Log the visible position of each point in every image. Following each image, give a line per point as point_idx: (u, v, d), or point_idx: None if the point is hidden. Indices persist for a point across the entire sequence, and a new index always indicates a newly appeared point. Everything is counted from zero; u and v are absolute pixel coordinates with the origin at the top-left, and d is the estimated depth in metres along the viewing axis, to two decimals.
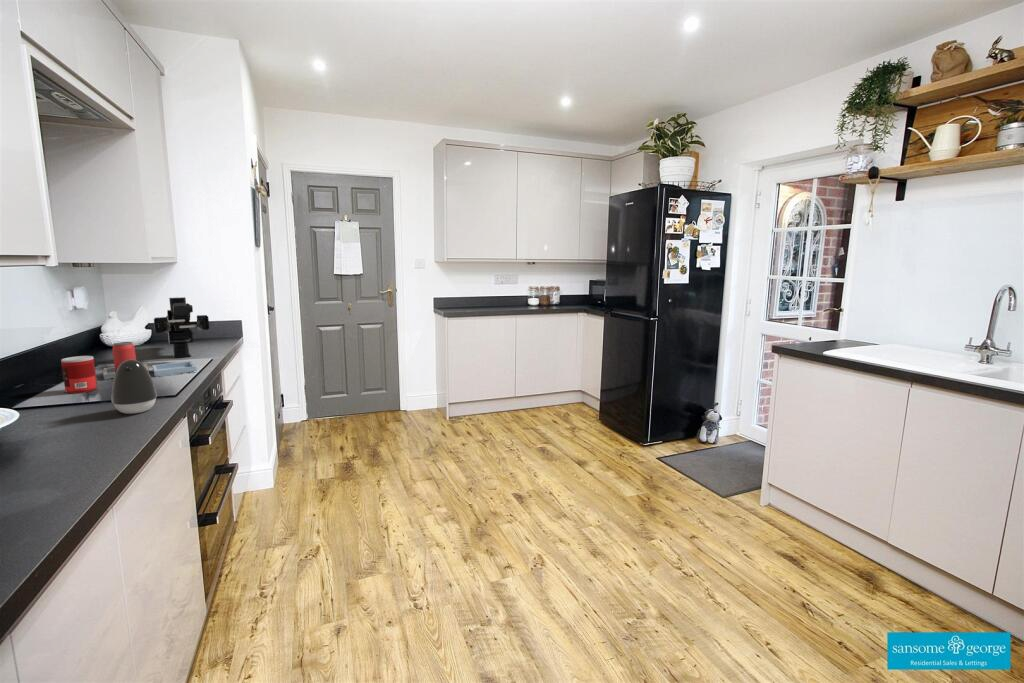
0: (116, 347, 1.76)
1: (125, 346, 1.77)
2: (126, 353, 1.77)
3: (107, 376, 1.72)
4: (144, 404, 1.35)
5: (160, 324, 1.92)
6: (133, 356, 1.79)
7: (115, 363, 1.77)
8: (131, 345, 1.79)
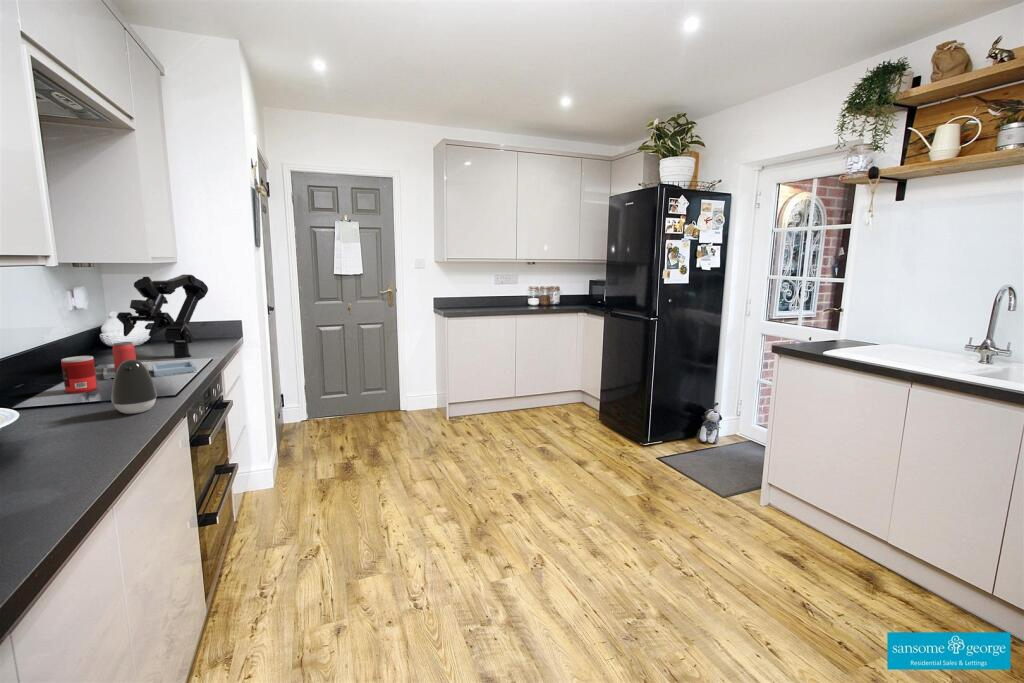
0: (116, 347, 1.76)
1: (125, 346, 1.77)
2: (126, 353, 1.77)
3: (107, 376, 1.72)
4: (144, 404, 1.35)
5: None
6: (133, 356, 1.79)
7: (115, 363, 1.77)
8: (131, 345, 1.79)
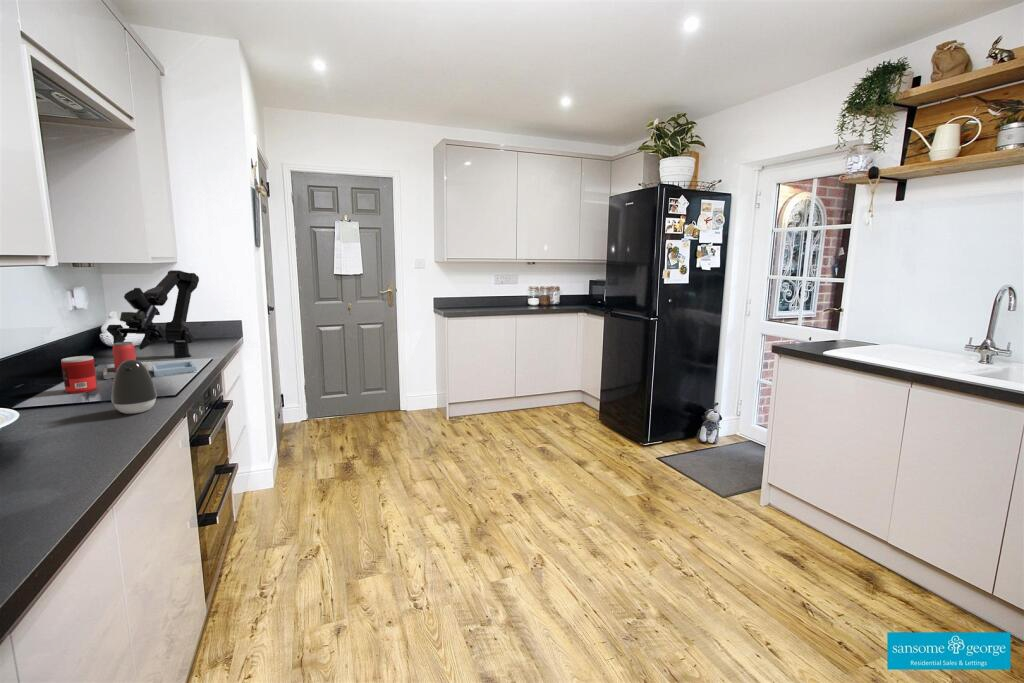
0: (116, 347, 1.76)
1: (125, 346, 1.77)
2: (126, 353, 1.77)
3: (107, 376, 1.72)
4: (144, 404, 1.35)
5: None
6: (133, 356, 1.79)
7: (115, 363, 1.77)
8: (131, 345, 1.79)
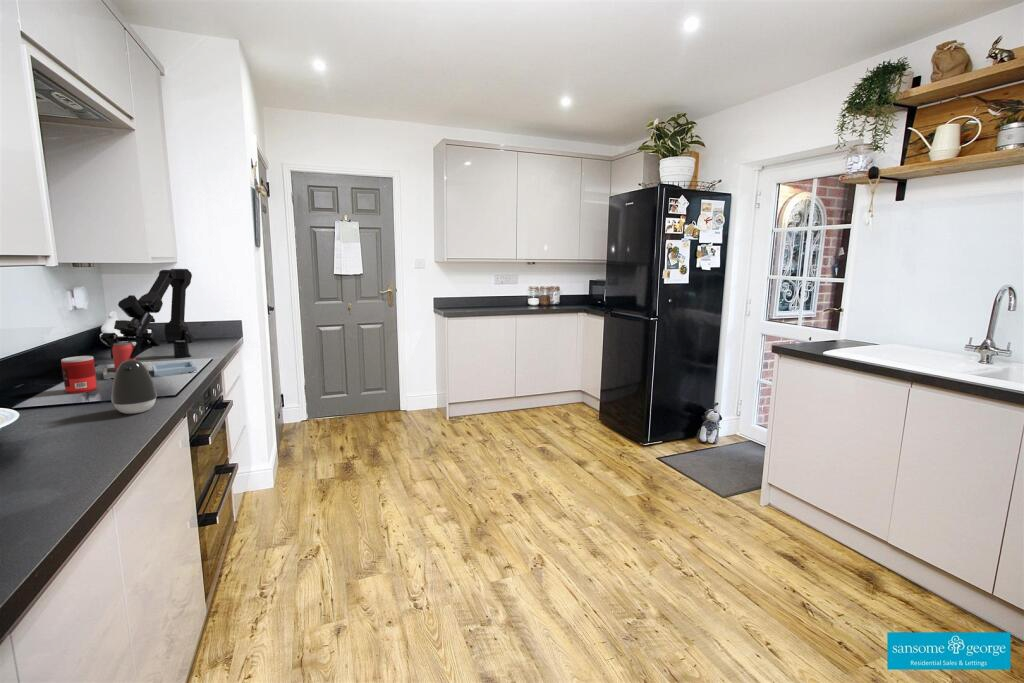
0: (116, 347, 1.76)
1: (125, 346, 1.77)
2: (126, 353, 1.77)
3: (107, 376, 1.72)
4: (144, 404, 1.35)
5: None
6: None
7: (115, 363, 1.77)
8: (131, 345, 1.79)
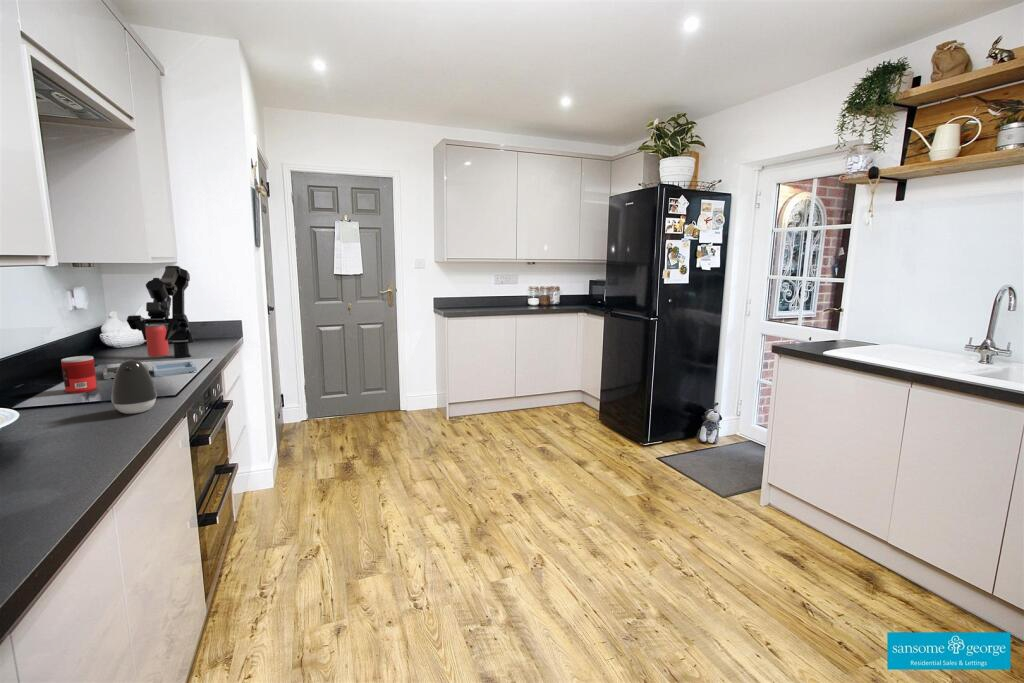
0: (151, 328, 1.78)
1: (160, 327, 1.80)
2: (162, 334, 1.80)
3: (107, 376, 1.72)
4: (144, 404, 1.35)
5: (137, 325, 1.81)
6: None
7: (150, 345, 1.79)
8: (164, 326, 1.82)
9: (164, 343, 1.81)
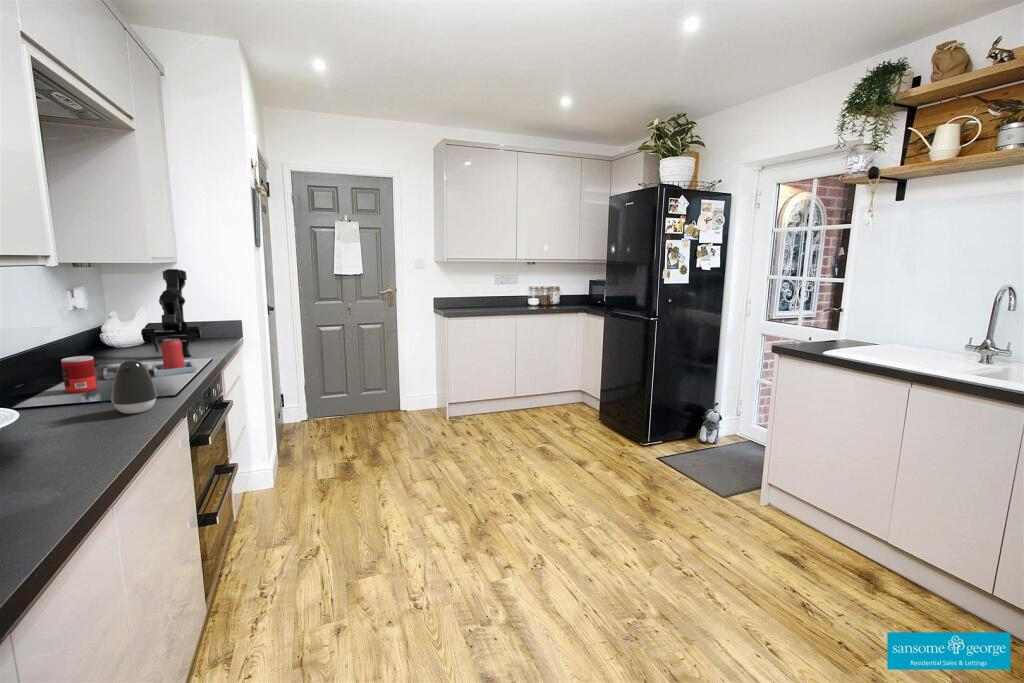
0: (169, 343, 1.81)
1: (177, 341, 1.83)
2: (179, 348, 1.84)
3: (107, 376, 1.72)
4: (144, 404, 1.35)
5: (148, 338, 1.82)
6: (182, 351, 1.86)
7: (167, 359, 1.82)
8: (180, 341, 1.85)
9: (180, 357, 1.85)
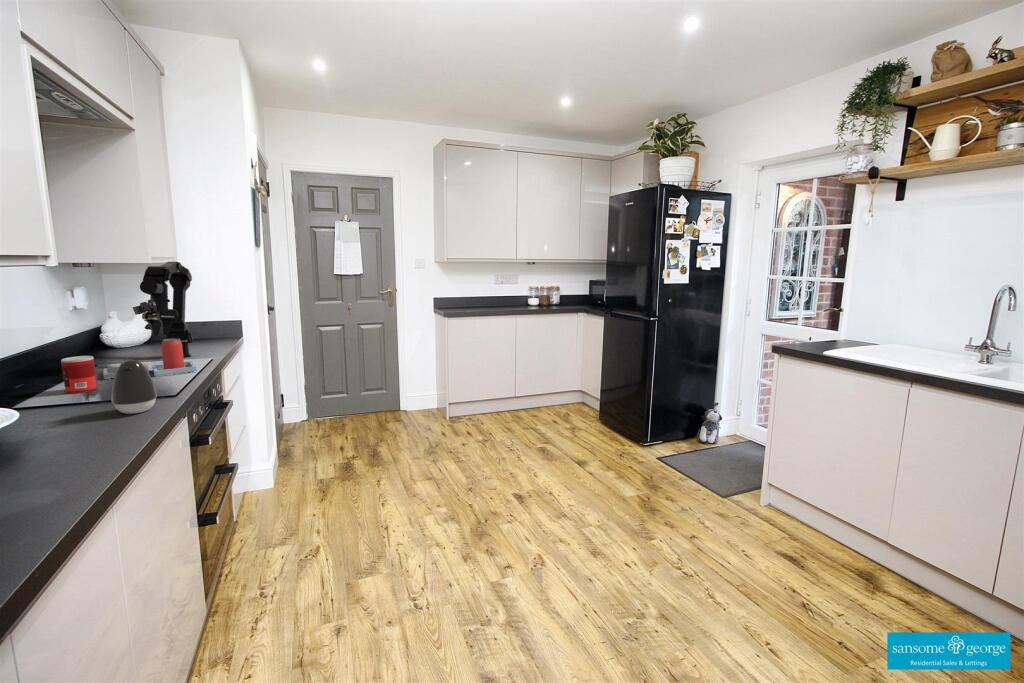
0: (169, 343, 1.81)
1: (177, 341, 1.83)
2: (179, 348, 1.84)
3: (107, 376, 1.72)
4: (144, 404, 1.35)
5: None
6: (182, 351, 1.86)
7: (167, 359, 1.82)
8: (180, 341, 1.85)
9: (180, 357, 1.85)
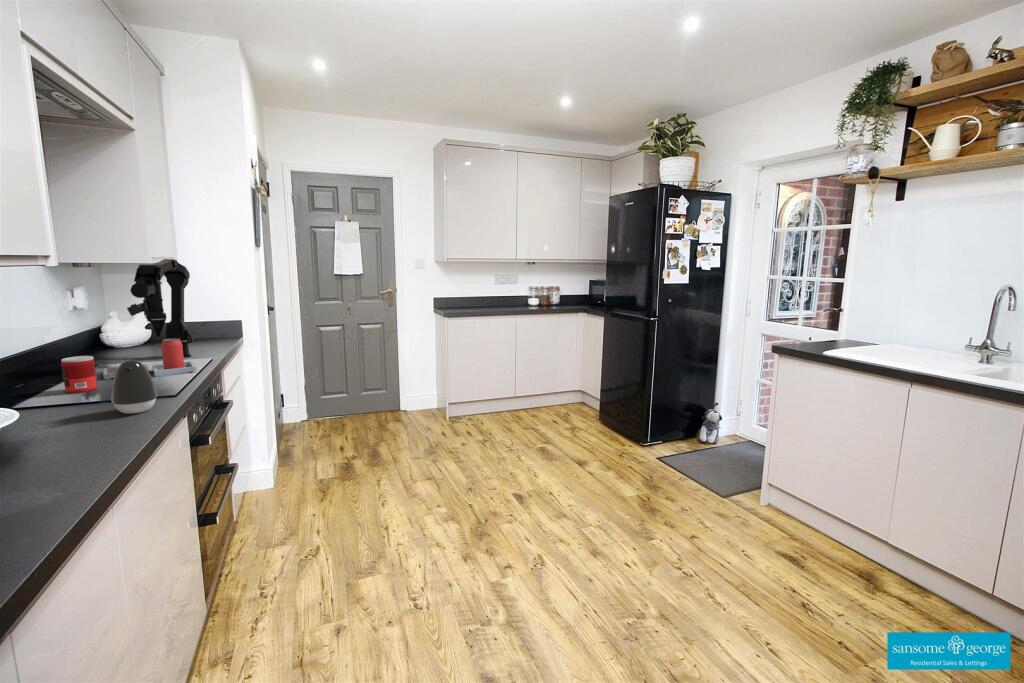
0: (169, 343, 1.81)
1: (177, 341, 1.83)
2: (179, 348, 1.84)
3: (107, 376, 1.72)
4: (144, 404, 1.35)
5: None
6: (182, 351, 1.86)
7: (167, 359, 1.82)
8: (180, 341, 1.85)
9: (180, 357, 1.85)
